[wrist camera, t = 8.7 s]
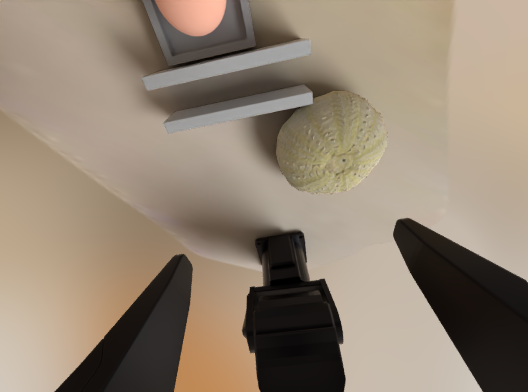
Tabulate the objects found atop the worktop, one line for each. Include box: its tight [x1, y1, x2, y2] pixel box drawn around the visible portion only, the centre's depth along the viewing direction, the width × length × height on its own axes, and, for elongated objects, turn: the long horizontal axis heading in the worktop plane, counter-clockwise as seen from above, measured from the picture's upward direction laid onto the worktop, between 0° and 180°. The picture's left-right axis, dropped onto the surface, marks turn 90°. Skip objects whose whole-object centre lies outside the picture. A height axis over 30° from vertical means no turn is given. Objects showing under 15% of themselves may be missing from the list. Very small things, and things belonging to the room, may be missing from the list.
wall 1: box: [142, 39, 311, 91], centre depth 15 cm, size 1×11×3 cm, turn 100°
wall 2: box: [163, 84, 313, 134], centre depth 16 cm, size 1×11×3 cm, turn 101°
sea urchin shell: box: [276, 91, 388, 194], centre depth 19 cm, size 9×8×8 cm
